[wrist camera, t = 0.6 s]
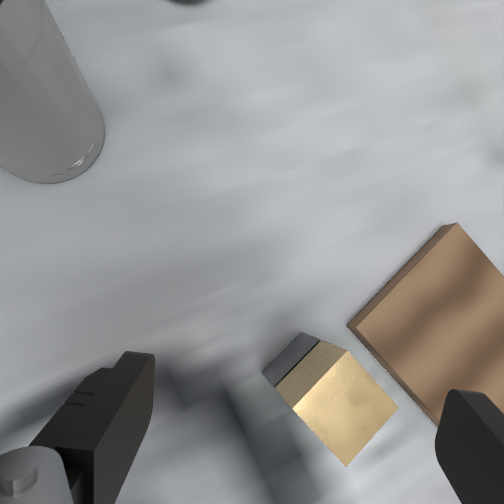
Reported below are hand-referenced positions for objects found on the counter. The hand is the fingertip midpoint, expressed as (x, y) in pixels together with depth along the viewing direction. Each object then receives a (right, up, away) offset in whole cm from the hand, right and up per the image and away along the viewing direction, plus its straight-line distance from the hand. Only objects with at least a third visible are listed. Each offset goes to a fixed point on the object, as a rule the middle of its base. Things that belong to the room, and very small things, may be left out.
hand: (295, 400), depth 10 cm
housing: (+3, -7, +23) cm, 24 cm away
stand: (+19, -5, +26) cm, 33 cm away
